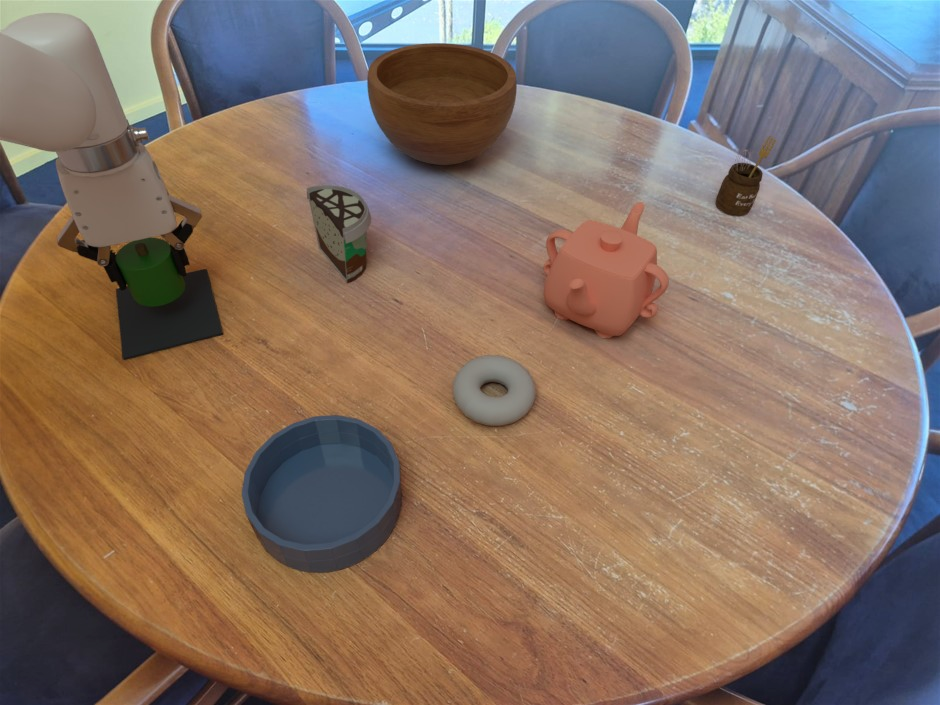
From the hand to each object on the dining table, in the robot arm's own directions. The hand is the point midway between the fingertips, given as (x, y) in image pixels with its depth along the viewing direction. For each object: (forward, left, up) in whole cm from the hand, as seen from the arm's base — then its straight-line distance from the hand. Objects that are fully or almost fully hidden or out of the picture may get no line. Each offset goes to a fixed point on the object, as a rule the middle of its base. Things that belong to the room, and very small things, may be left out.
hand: (153, 275), depth 79 cm
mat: (0, 0, -6) cm, 6 cm away
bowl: (+50, +25, -7) cm, 56 cm away
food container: (+26, +2, -6) cm, 27 cm away
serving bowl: (+12, -36, -6) cm, 39 cm away
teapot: (+54, -21, -6) cm, 58 cm away
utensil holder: (+90, -8, -6) cm, 91 cm away
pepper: (0, 0, -2) cm, 2 cm away
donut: (+34, -30, -6) cm, 46 cm away
